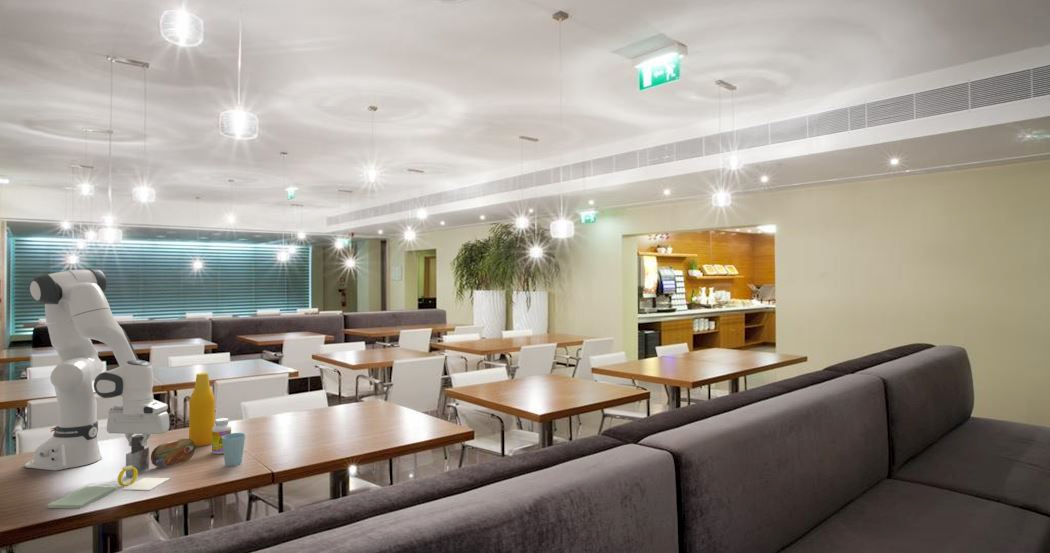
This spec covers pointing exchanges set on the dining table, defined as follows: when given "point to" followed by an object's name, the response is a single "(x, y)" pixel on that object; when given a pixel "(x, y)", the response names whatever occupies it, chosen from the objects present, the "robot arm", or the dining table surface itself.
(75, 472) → the dining table surface
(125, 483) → the yellow ring
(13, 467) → the dining table surface
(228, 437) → the cup
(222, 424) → the supplement bottle
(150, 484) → the face down mat
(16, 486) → the dining table surface
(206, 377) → the yellow bottle
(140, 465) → the grey upright panel
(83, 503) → the plate
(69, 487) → the dining table surface
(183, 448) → the tin
